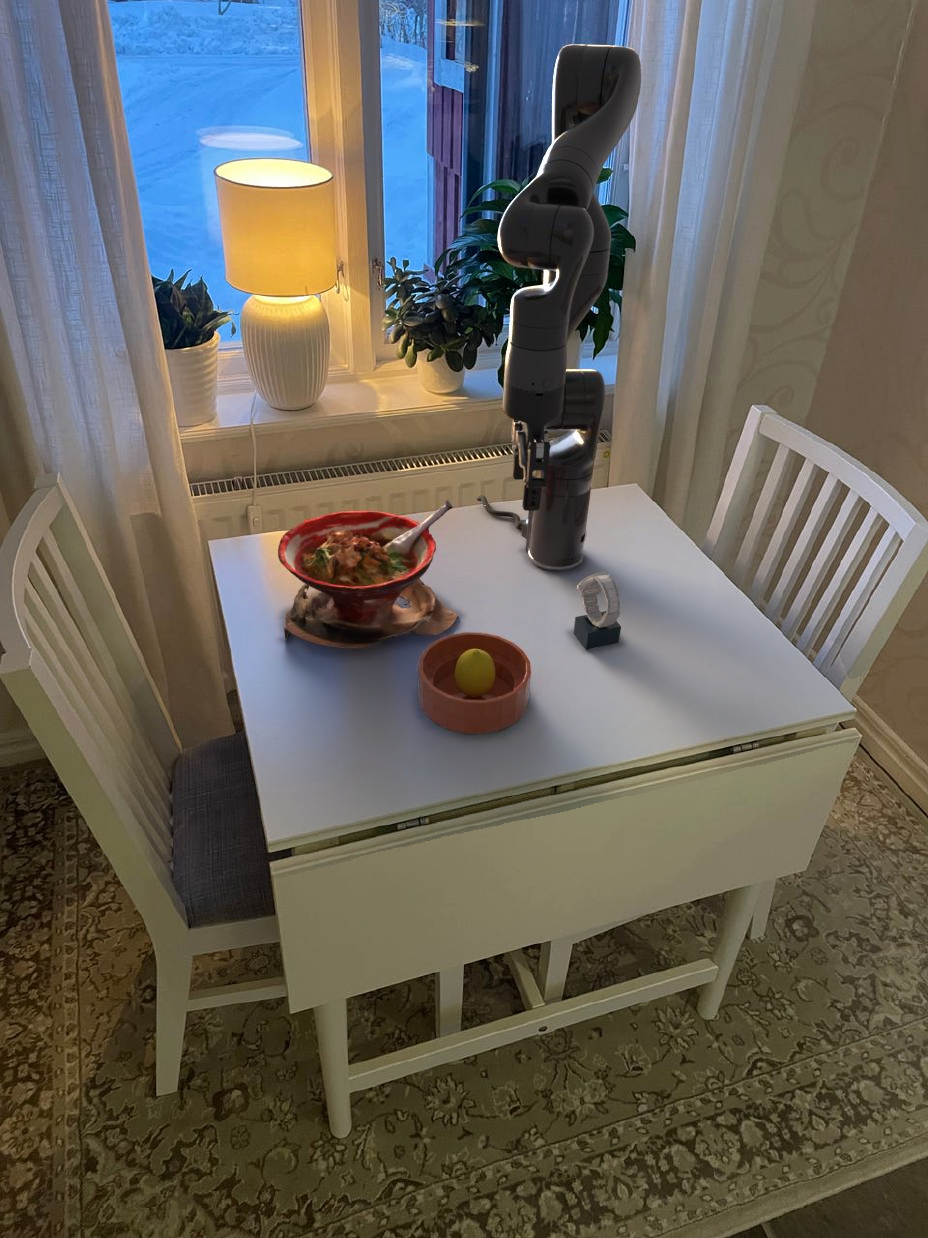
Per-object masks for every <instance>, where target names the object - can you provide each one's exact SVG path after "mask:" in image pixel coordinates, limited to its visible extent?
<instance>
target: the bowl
mask: <svg viewBox="0 0 928 1238" xmlns="http://www.w3.org/2000/svg"><path fill="white" fill-rule="evenodd" d="M470 649H480V650H483V651H485V652H486V653H488V654H489V655H490V657H491V658H492V660H493V662H494V666H495V680H494V683H493V686H492V688H491V689H490V690H489V691H488V692H487V693H486V694H485V695H483V696H480V697H470V696H467V695H465V694H463V693H462V692H461V691H460V690H459V688H458V686H457V684H456V680H455V668H456V664H457V661H458V659H459V658H460V656H461V655H462V654H463V653H464V652H466V651H468V650H470ZM417 673H418V675H417V676H418V679H417V681H418V682H417V684H418V686H417V687H418V689H417V695H418V696H417V697H418V699H417V700H418V703H419V705H420V707H421V709H422V712H423V713H424V714H425V715H426V716H427V717H428V718H429V719H430V720H431V721H432V722H433V723H436V724H437V725H439V726H441V727H443V728H445V729H446V730H449V731H450V730H451V731H455V732H458V733H463V734H487V733H493V732H498V731H501V730H503V729H505V728H507V727H509V726H511V725H513V724H515V723H516V722H517V721H518V720H519V719H520V718H521V717H523V715H524V714H525V712H526V710H527V707H528V705H529V699H530V690H531V679H532V666H531V661H530V659H529V657H528V656H527V654H526V653H525V651H524V650H523V649H522V648H520V647H519V646H518V645H517V644H516V643H514V642H513V641H510V640H509V639H506V638H505V637H503V636H499V635H495V634H491V633H487V632H477V631H476V632H471V631H466V632H465V631H464V632H459V633H452V634H449V635H446V636H444V637H440V638H439V639H436V640H435V641H433V642H432V643H431V644H429V645H428V646H427V647H426V648H425V649H424V650H423V652H422V653H421V655H420V657H419V658H418V672H417Z"/></svg>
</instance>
